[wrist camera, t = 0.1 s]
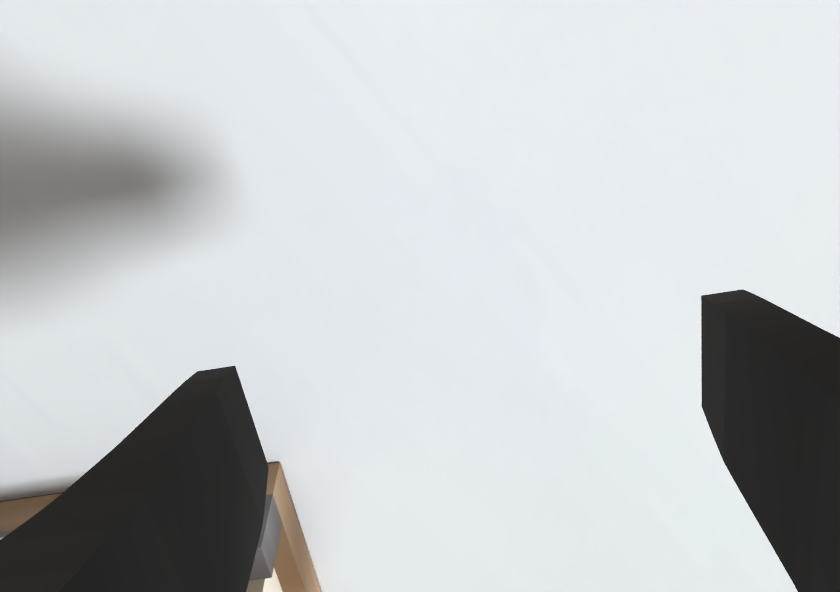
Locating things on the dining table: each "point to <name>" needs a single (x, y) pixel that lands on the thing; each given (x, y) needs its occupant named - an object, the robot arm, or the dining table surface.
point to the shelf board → (275, 547)
